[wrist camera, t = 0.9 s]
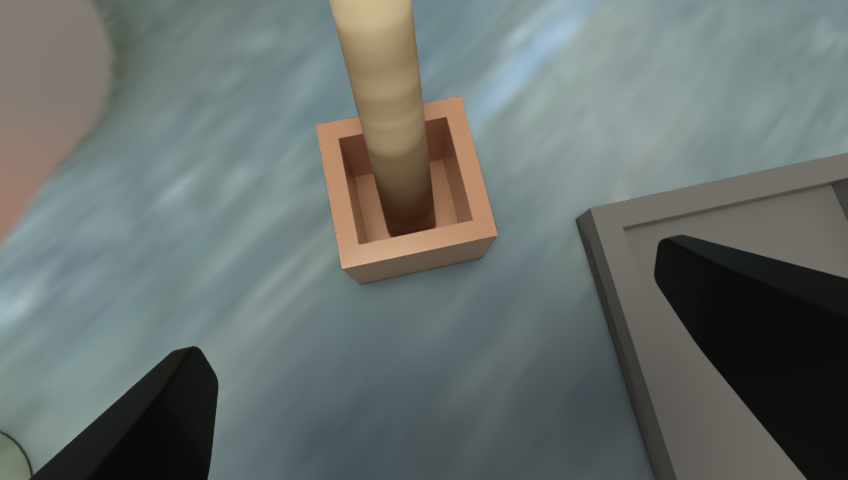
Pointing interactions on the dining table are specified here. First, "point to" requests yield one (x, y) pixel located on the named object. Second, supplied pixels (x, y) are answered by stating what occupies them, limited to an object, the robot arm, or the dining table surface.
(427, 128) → the terracotta box
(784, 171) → the charcoal frame
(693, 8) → the dining table surface
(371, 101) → the wooden dowel
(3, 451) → the beer glass
